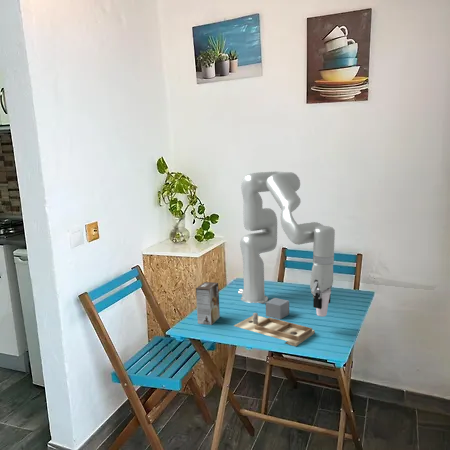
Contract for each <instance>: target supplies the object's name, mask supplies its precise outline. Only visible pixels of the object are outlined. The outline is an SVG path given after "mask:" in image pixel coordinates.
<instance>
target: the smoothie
mask: <svg viewBox="0 0 450 450" xmlns="http://www.w3.org/2000/svg"><path fill="white" fill-rule="evenodd" d="M317 290H320V289H319V288H317ZM317 293H318V294H319V292H318V291H317ZM330 294H331V295H332V289H331V290H329V289H326V290H324V291H322V295H321V298H322V308H321V309H318V308H315V309H316V310H315V311H316V315H317V316H318V317H326V316H327V314H328V308H329V304H330V303H329V298H330V299H331V297H330Z"/></svg>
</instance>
